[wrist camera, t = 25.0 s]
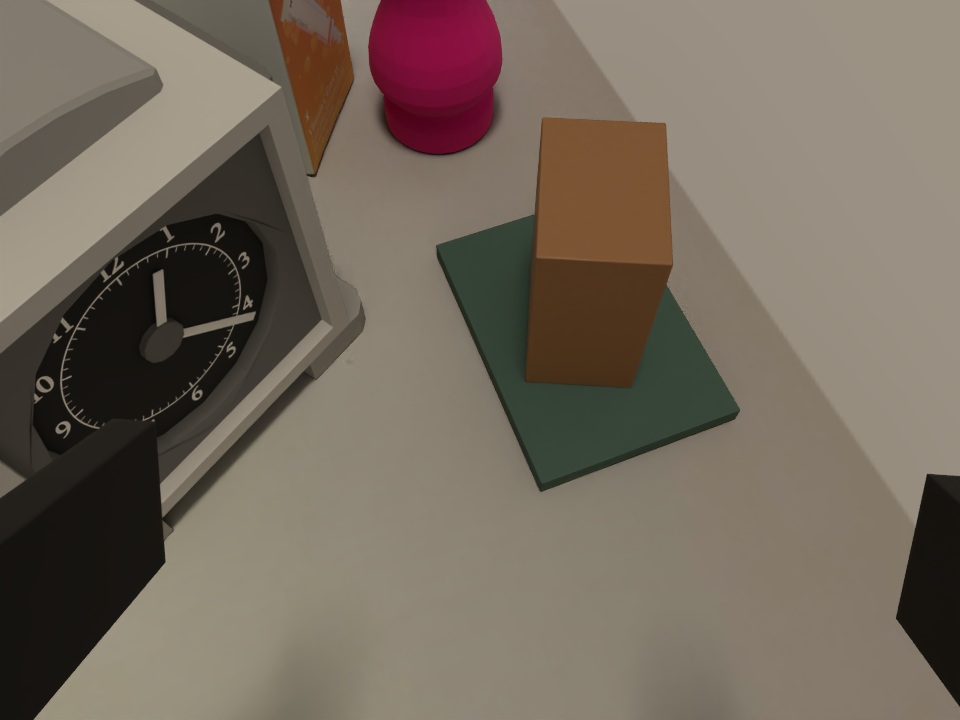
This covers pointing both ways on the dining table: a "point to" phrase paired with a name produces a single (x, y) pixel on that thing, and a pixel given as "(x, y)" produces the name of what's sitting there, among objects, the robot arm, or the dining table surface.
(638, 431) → the mat
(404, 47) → the pepper mill
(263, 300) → the alarm clock
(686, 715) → the dining table surface
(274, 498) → the dining table surface
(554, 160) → the brown packet
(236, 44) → the small box
